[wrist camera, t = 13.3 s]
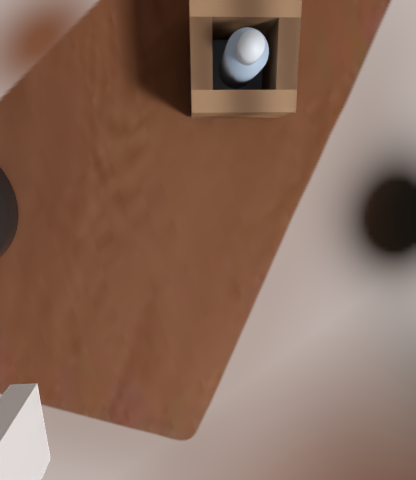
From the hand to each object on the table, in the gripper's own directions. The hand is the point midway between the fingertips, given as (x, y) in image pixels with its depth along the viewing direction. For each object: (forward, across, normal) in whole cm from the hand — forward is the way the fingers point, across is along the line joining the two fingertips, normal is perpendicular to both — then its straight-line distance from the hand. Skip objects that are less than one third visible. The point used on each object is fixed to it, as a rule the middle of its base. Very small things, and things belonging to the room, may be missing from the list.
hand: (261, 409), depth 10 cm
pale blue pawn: (+29, +3, +15) cm, 33 cm away
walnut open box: (+28, +3, +15) cm, 32 cm away
